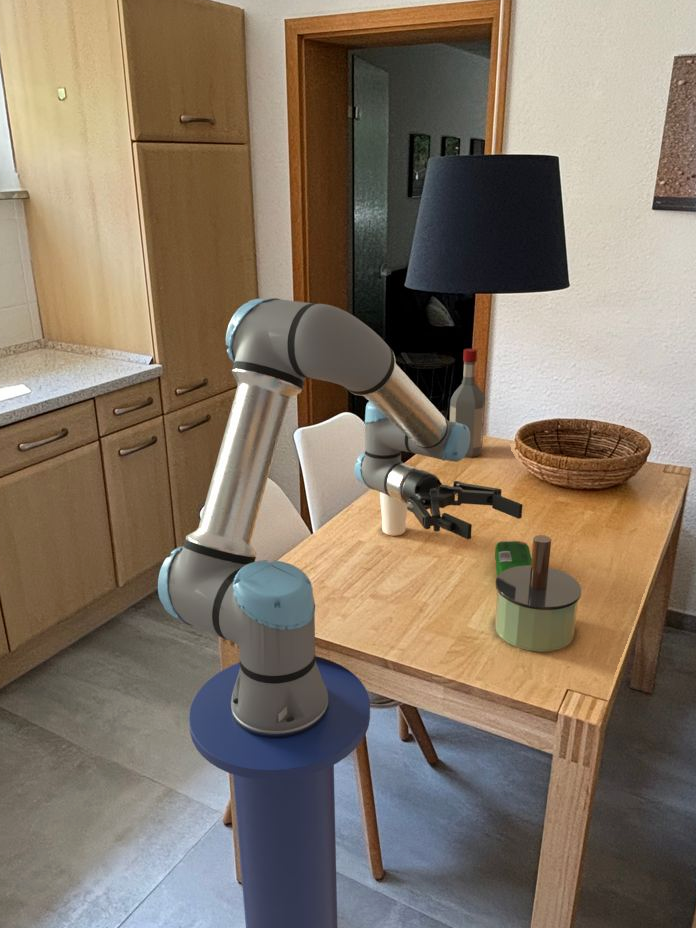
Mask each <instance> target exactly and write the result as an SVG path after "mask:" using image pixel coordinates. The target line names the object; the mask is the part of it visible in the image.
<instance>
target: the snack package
mask: <svg viewBox="0 0 696 928" xmlns="http://www.w3.org/2000/svg"><path fill="white" fill-rule="evenodd" d="M494 559H495V570H496V578H497V577H498V575H499V574H500V573H501V572H503V571H505V570H507V569H509V568H512V567H517V566H526V565H531V560H532V554H531V551H530V547H529V545H528V543H526V542H524V541H521V540H519V541H518V540H514V541H513V540H512V541H509V540H508V541H498V542H497V543H496V545H495V548H494Z"/></svg>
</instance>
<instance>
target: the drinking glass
mask: <svg viewBox="0 0 696 928" xmlns="http://www.w3.org/2000/svg"><path fill="white" fill-rule="evenodd" d="M379 503H380V514H381V531H382V532H383V533H384V534H386V535H388V536H393V537H395V536H400V535H403V534H404V533H405V532H406V529H407V528H406V527H407V526H406V525H407V524H406V523H407V515H408V510H407V504H406V503H403V502H401V501H399V500H397V499H395V498H393V497H390V496H388V495H386V494H384V493H381V492H379Z"/></svg>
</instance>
